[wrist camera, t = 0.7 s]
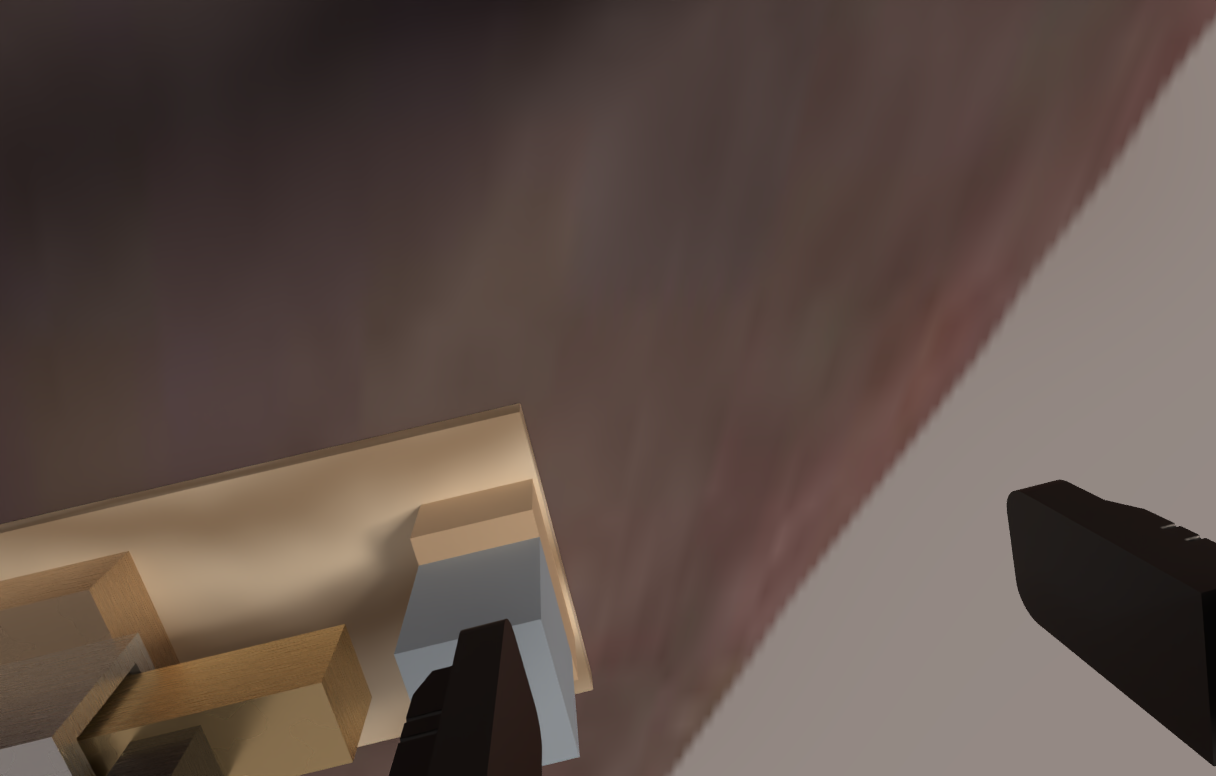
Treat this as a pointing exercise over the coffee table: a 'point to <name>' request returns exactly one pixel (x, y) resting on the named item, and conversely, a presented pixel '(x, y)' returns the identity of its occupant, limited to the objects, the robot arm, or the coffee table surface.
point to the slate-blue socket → (493, 599)
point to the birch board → (297, 544)
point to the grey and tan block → (70, 657)
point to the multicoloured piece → (236, 713)
